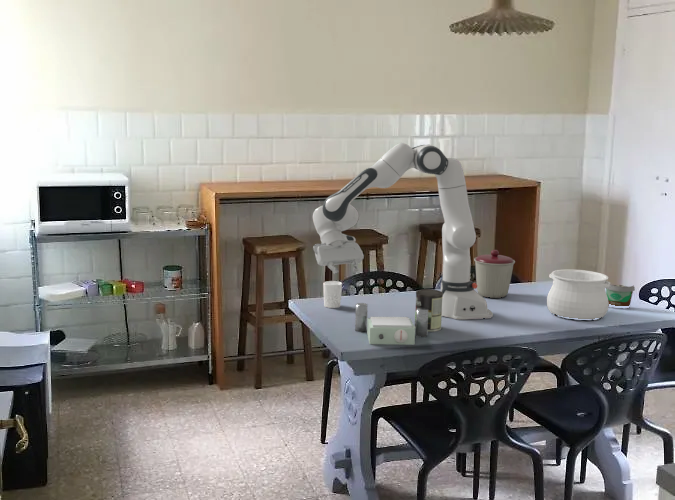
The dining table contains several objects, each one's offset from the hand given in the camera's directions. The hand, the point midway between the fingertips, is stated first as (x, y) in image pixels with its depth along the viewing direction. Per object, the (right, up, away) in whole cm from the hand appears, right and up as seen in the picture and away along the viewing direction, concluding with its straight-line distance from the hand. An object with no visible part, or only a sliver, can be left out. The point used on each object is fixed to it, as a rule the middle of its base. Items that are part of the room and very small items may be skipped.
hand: (346, 272), depth 302 cm
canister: (+66, -12, +51) cm, 85 cm away
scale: (+16, -24, -18) cm, 34 cm away
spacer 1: (+5, -22, -7) cm, 24 cm away
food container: (+117, -17, +34) cm, 123 cm away
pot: (+95, -18, +21) cm, 100 cm away
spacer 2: (+28, -23, -13) cm, 38 cm away
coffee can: (+31, -22, -3) cm, 38 cm away
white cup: (-6, -15, +27) cm, 31 cm away
